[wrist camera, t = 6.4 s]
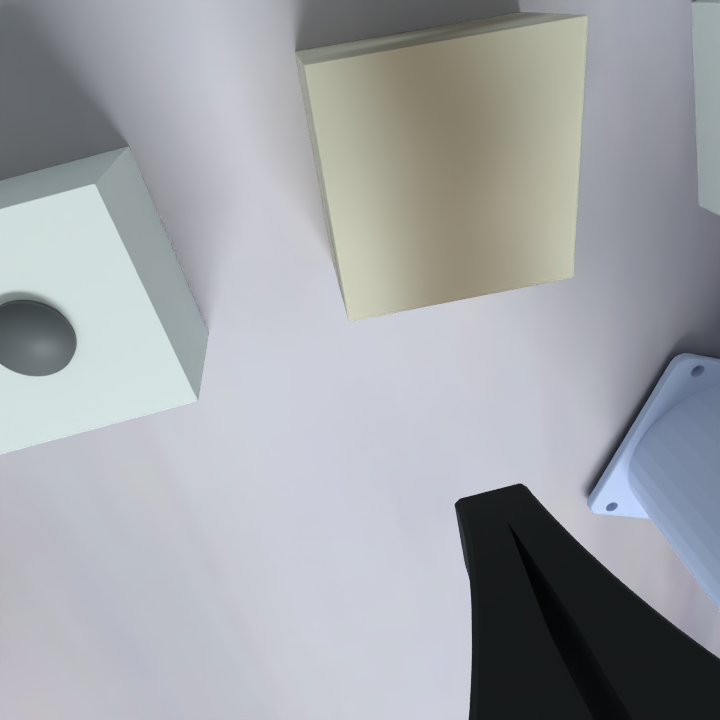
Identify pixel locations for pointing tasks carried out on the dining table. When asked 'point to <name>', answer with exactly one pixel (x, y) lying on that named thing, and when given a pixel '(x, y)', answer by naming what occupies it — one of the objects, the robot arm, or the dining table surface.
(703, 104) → the two-dot block
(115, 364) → the one-dot block
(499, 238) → the maple block
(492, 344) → the dining table surface
